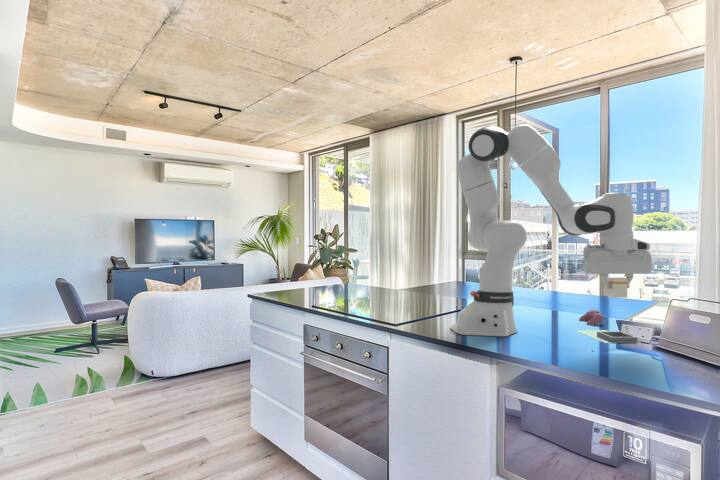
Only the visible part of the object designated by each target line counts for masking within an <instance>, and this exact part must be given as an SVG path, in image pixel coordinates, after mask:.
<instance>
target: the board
mask: <svg viewBox="0 0 720 480" xmlns="http://www.w3.org/2000/svg"><path fill="white" fill-rule="evenodd" d="M574 331H575V332H578V333H580V334H582V335H585V336H587V337H589V338H592V339H593V340H597V341H598V342H602V343H604V344H641V341H638V336H635V335H632V334H629V333H626V332H623V331H619V330H617V331H612V330H611V331H610V330H607V329H593V330H592V329H591V330H589V329H587V330H586V329H585V330H582V329H581V330H580V329H579V330H577V329H575V330H574ZM620 336H622V337H620Z"/></svg>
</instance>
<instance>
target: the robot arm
mask: <svg viewBox="0 0 720 480" xmlns="http://www.w3.org/2000/svg"><path fill="white" fill-rule="evenodd" d="M468 150H469V154H467V155H465V156H463V157H462V158H461V159H459V161H458V162H457V166H456V168H457V169H456V170H457V176H458V179H459V183H460V184H459V185H460V187H461V190H462V194H463V196H464V199H465V203H466V205H467V208H468V215H469V223H470V226H469V230H468V233H467V241H468V243H469V244H470V246H471V247H472V248H474V249H476V250H479V251H481V252H487V253H486V257H485V260H484V262H483V264H482V265H481V266H480V268H479V271H478V272H479V273H478V274H479V277H478V278H479V280H478V282H479V283H478V284H479V289H478V290H476V291H475V290H470V293H469V296H470V297H473V301H472V302H470V303H469V304H468V305H466V306H464V308H462V309H460V311H459V313H458V316H457V322H456V323H453V324H451V326H450V328H451V330H452V331H453V332H454V333H455V334H458V335H463V336H483V337H484V336H487V337H490V336H491V337H509V336H510V335H513V334H516V333H517V332H518V331H517V328H516V323H515V318H514V311H513V310H514V309H513V307H514V299H515V298H514V292H513V269H514V264H515V261H516V258H517V256H518V253H519V251H520V250H521V249H522V248H523V247H524V246H525V244H526V242H527V231H526V229H525V227H524V226H523V225H522V223H519V222H517V221H512V220H499V218H498V207H499V206H500V203H501V199H500V195H499V192H498V190H497V187H496V184H495V181H494V177H493V175H492V172H491V167H490V166H491V163H492V162H493V161H494V160H495V159H498V158H499V157H502V156H509V157H510V158H511V159H512V160H514V162H515V163H516V164H517V165H518V167H519V168H520V169H521V171H522V172H524V173H525V175H526V176H527V177H528V178H529V179H530V180H531V182H532V183H533V184H534V185H535V186H536V187H537V188H538V190H539V192H540V193H541V194H542V196H543V197H544V198H545V200H546V202H547V203H548V204H549V206H551V208H552V209H553V211H554V212H555V214H556V217H557V221H558V224H559V227H560V228H561V230H562V231H563V232H565V234H567V235H570V236H576V237H577V236H582V235H588V234H590V235H591V234H595V233H600V237H599V239H600V241H599V243H600V244H599V243H598V244H587V245H586V246H585V247H584V248H583V251H582V252H583V253H582V254H583V259H582V266H581V267H582V268H581V269H582V271H583V273H584V274H589V275H594V274H595V275H599V278H600V280H601V281H602V282H603V289H606V288H611V287H612V286H611V285H612V283H609V282H608V280H607V278H606V277H609V275H615V274H616V275H617V274H618V275H624V278H627V289H630V283H631V282H632V280H633V279H634V275H635V274H636V275H637V274H638V275H640V274H641V275H644V274H645V275H649V274H650V273H651V271H652V269H653V262H652V261H653V260H652V254H651V252H650V251H649V250H650V249H651V244H650V243H649V242H645V241H643V240H639V239H638V238H637V239H636V238H634V232H633V225H634V224H633V223H634V206H633V201H632V199H631V197H630V196H629V195H628V194H627V193H622V192H606V193H603V194H602V195H601V196H599V197H597V198H596V199H594V200H591V201H588V202H585V203H583V204H580V205H579V204H577V203H576V202H574V201H573V199H572V198H571V197H570V196H569V194H568V192H567V191H566V190H565V189H564V187H563V186H562V184H561V183H560V180H559V172H560V169H561V159H560V158H559V157H560V156H559V155H558V153H557V151H556V150H555V149H554V148H553V146H552V145H551V144H550V143H549V142H548V141H547V139H546V138H544V136H543V135H542V134H540V133H539V131H537V130H536V129H535V128H534V127H532V126H531V125H529V124H520V125H516V126H515V127H514V128H512V129H511V130H509V131H507V130H506V129H505V128H503V127H501V126H498V125H487V126H482V127H481V128H480V129H478V130H476V131H475V132H474V133H473V134H472V135H471V137H470V138H469V141H468Z"/></svg>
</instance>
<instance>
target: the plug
mask: <svg viewBox="0 0 720 480" xmlns="http://www.w3.org/2000/svg"><path fill="white" fill-rule="evenodd" d="M606 278H607V280H608V282H609V283H612V285H611V286H612V287H611V288H605V297H609V298H613V299H615V298H617V299H620V298H621V299H623V298H624V299H626V298H628V288H627V278H626V277H621V276H608V277H606Z"/></svg>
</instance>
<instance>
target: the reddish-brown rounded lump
mask: <svg viewBox="0 0 720 480" xmlns="http://www.w3.org/2000/svg"><path fill="white" fill-rule="evenodd" d="M578 321H579V322H587V323H586V325H587V326H598V325H599V324H601V323H602V322H604V315H603V314H602V312H600V311H599V310H595V309H589V310H588V311H587V312H586V313H585V314H584V315H581V316H580V317H579V319H578Z"/></svg>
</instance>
